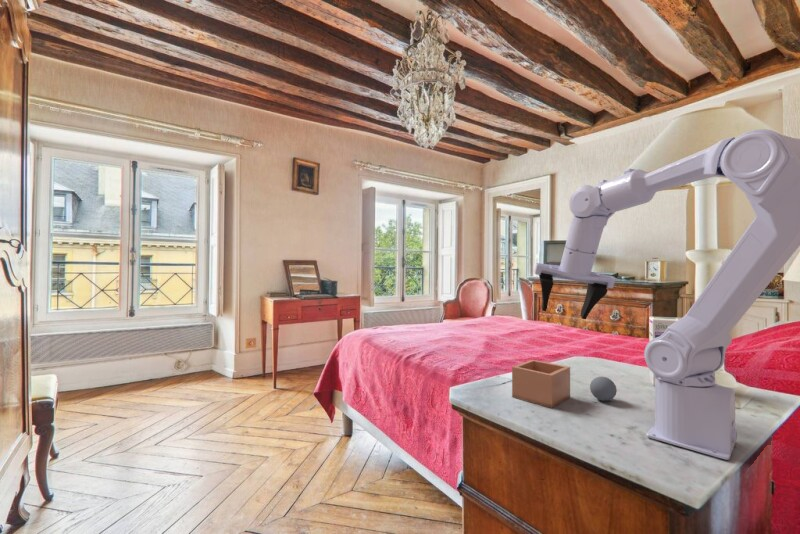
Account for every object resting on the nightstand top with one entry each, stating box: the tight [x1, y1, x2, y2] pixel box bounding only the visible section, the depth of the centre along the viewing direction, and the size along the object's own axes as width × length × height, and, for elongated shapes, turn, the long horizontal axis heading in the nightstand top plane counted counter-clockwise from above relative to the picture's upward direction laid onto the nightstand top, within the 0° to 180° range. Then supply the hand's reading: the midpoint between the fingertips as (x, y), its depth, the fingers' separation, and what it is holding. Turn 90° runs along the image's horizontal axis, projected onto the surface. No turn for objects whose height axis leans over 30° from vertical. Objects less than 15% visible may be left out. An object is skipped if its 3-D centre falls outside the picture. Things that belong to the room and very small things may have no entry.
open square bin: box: [511, 359, 571, 409], centre depth 74 cm, size 8×8×6 cm
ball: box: [589, 376, 618, 402], centre depth 72 cm, size 4×4×4 cm
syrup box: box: [648, 316, 682, 387], centre depth 81 cm, size 6×6×14 cm
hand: (563, 313), depth 76 cm, fingers open, 7 cm apart
